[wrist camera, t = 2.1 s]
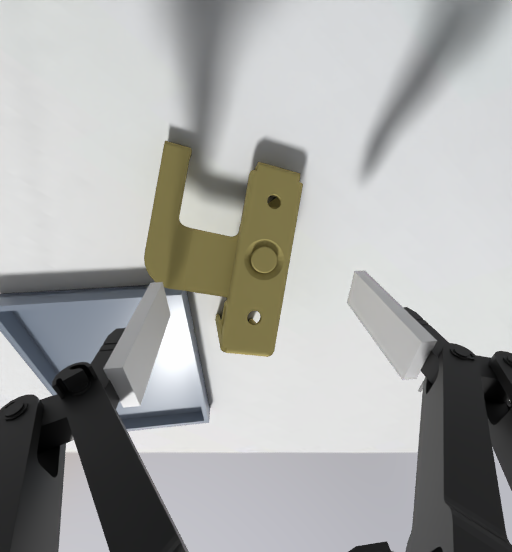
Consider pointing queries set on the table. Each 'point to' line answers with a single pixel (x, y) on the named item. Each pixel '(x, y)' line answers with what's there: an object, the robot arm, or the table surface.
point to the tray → (91, 335)
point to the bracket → (228, 251)
